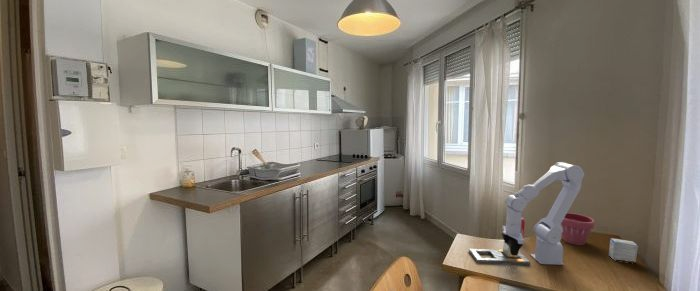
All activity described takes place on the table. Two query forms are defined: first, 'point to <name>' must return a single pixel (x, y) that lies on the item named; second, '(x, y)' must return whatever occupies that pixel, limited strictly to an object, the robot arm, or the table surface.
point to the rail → (497, 257)
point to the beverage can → (522, 227)
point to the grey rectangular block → (508, 251)
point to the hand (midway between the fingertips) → (511, 252)
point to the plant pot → (576, 228)
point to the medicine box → (623, 250)
